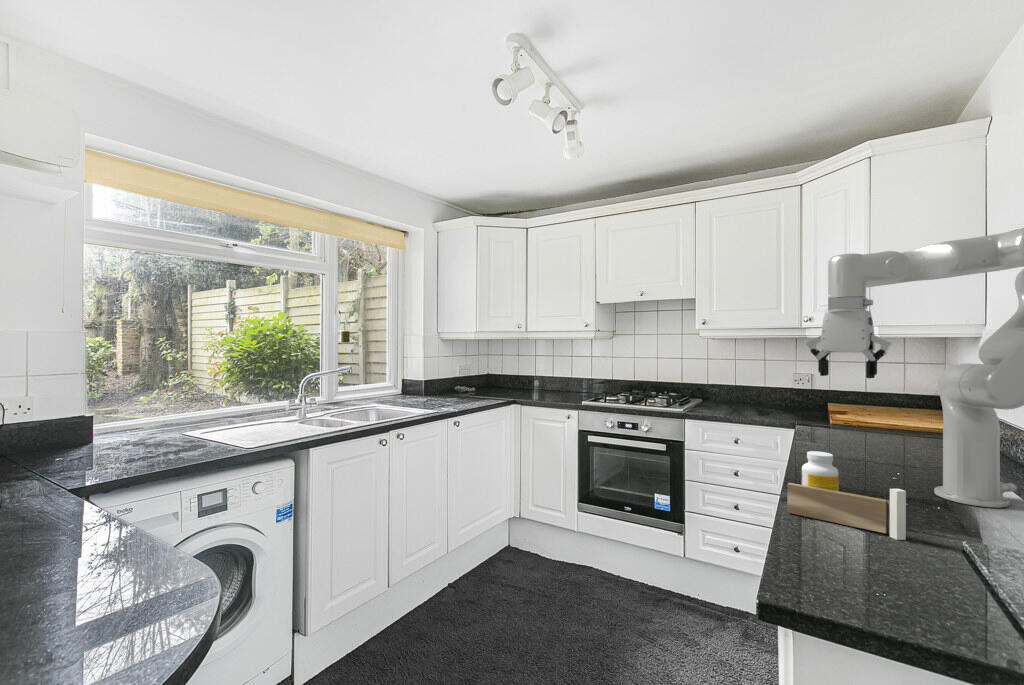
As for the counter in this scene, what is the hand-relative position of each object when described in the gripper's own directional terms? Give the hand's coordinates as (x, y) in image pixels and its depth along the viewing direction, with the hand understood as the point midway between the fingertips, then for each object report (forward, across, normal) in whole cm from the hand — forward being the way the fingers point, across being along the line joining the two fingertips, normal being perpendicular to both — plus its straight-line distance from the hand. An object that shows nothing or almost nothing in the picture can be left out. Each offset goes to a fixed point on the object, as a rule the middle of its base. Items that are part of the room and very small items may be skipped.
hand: (846, 376), depth 114 cm
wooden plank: (+28, -7, +23) cm, 37 cm away
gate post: (+28, -16, +22) cm, 39 cm away
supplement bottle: (+28, -2, +20) cm, 35 cm away
